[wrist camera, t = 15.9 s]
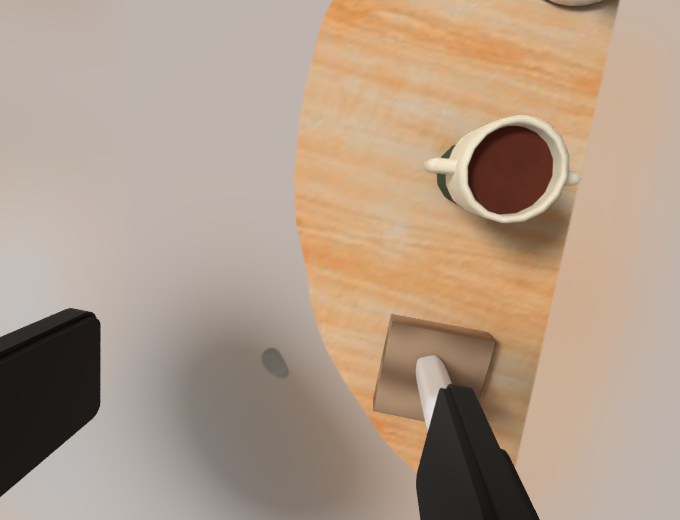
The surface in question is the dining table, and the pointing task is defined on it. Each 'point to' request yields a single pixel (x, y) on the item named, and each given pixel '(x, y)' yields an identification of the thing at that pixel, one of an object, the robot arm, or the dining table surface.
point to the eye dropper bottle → (430, 383)
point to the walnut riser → (419, 341)
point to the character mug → (506, 169)
